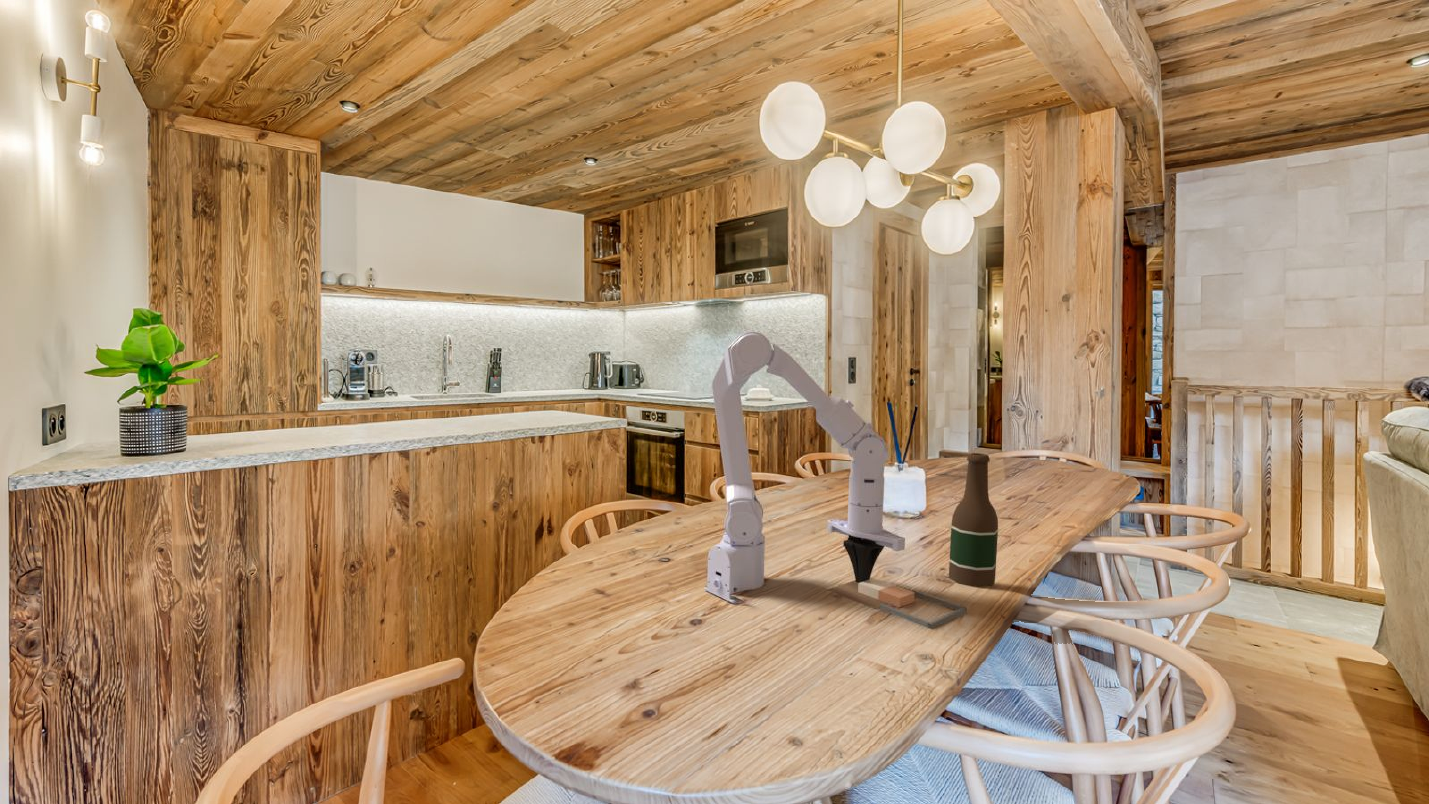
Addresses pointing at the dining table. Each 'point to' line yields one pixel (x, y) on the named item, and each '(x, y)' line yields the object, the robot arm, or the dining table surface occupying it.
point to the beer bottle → (974, 530)
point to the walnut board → (856, 594)
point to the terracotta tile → (896, 596)
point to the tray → (958, 611)
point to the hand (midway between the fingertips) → (862, 582)
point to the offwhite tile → (872, 587)
